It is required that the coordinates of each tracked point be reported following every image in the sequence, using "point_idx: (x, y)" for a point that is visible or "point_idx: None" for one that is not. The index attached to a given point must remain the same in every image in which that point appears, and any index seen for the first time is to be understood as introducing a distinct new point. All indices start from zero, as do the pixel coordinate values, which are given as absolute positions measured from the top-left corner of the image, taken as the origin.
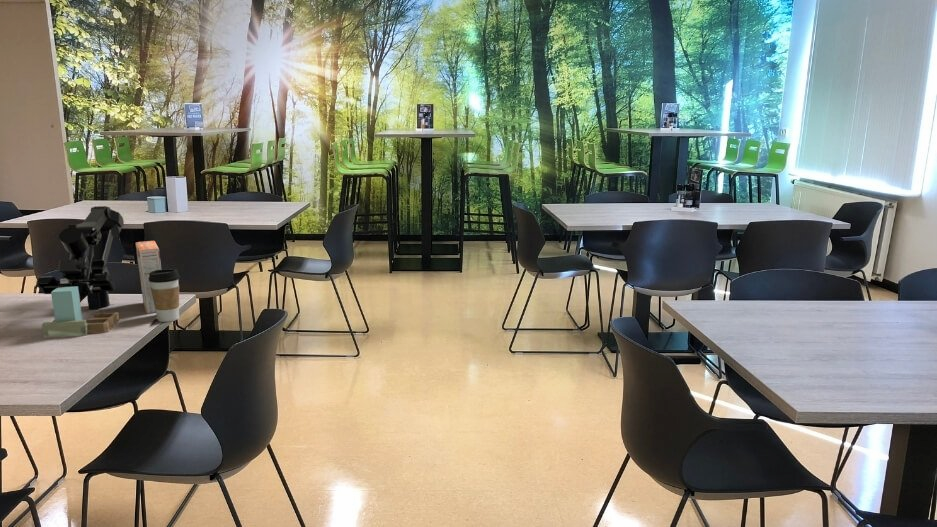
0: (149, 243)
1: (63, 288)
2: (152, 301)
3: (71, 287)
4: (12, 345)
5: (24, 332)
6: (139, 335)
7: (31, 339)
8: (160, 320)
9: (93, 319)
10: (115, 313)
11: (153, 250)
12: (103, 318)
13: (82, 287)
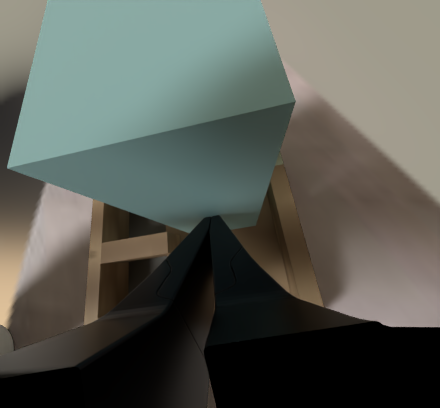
0: None
1: (166, 56)
2: None
3: (79, 110)
4: (339, 127)
5: (409, 242)
6: (53, 200)
7: (321, 172)
8: (1, 329)
9: (149, 236)
10: (90, 318)
11: None
12: (118, 247)
13: (65, 382)
